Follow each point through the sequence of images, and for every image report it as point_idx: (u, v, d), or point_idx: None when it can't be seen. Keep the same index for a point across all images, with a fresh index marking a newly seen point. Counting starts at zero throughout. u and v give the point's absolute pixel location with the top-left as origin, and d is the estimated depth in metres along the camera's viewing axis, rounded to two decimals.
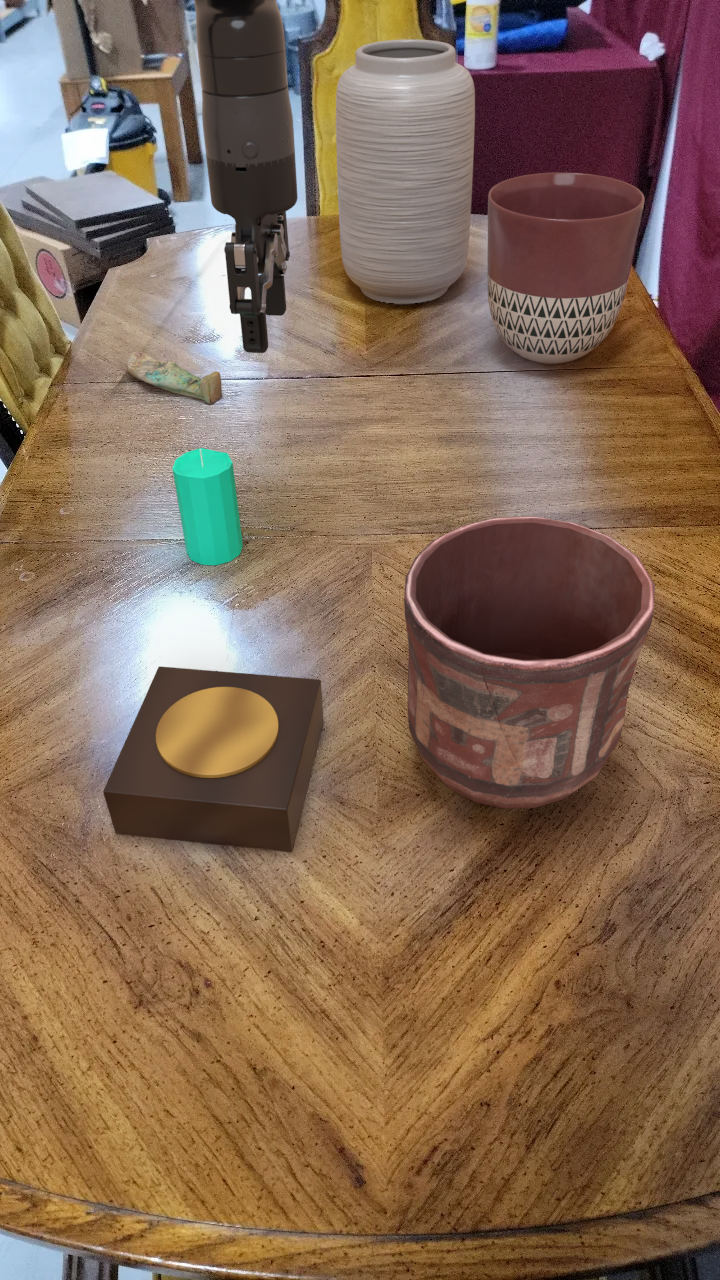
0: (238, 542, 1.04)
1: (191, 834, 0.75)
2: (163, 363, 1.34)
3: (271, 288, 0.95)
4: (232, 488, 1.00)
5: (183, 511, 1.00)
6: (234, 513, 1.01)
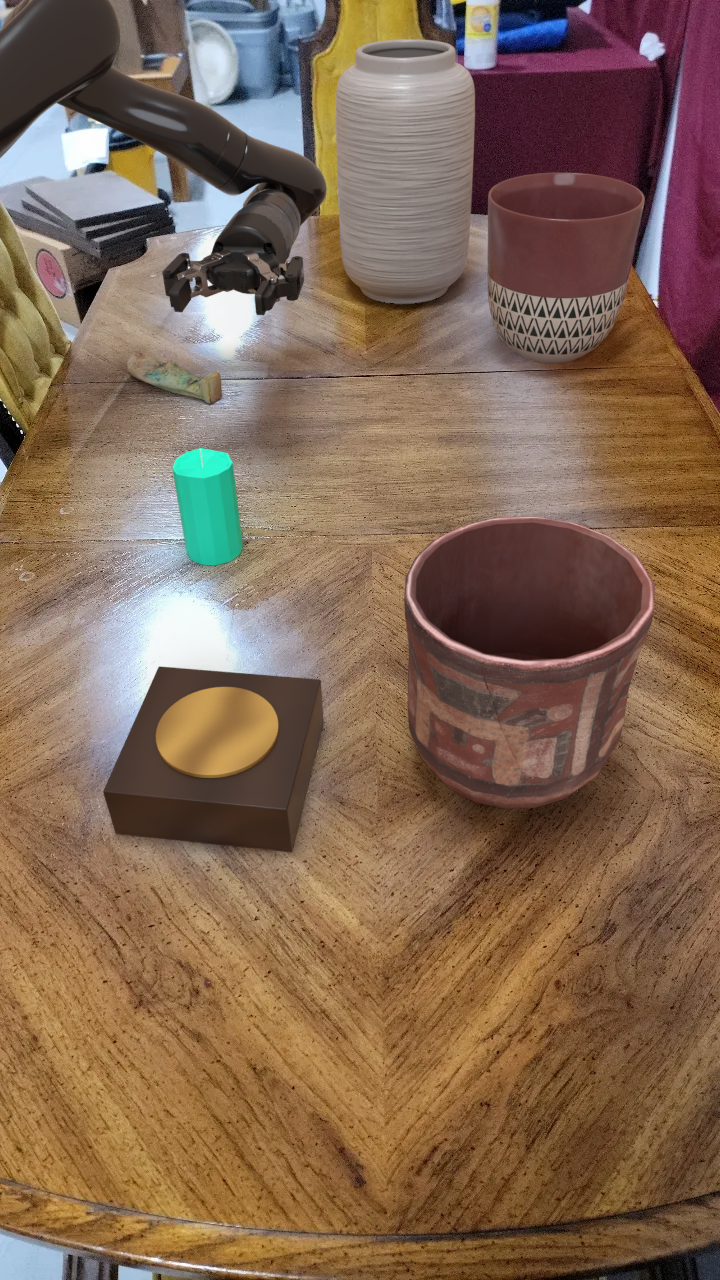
0: (238, 542, 1.04)
1: (191, 834, 0.75)
2: (163, 363, 1.34)
3: (186, 292, 1.02)
4: (232, 488, 1.00)
5: (183, 511, 1.00)
6: (234, 513, 1.01)
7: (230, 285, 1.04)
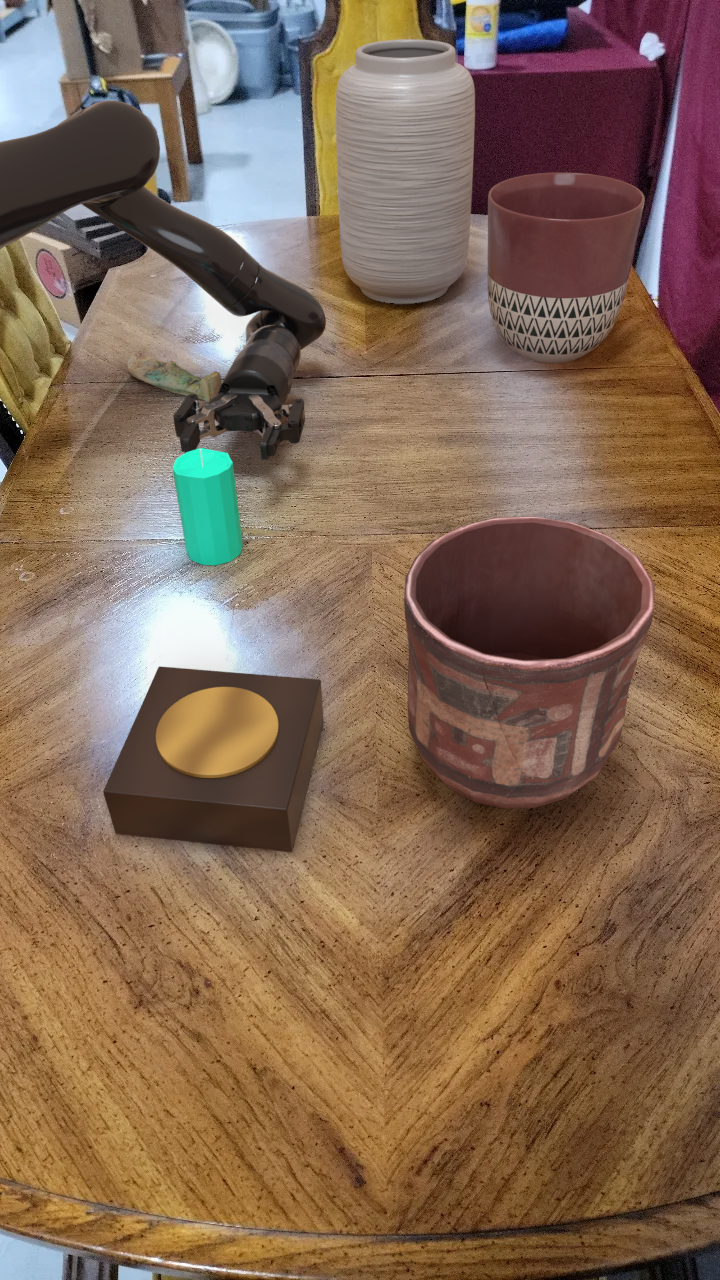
0: (238, 542, 1.04)
1: (191, 834, 0.75)
2: (163, 363, 1.34)
3: (196, 436, 1.09)
4: (232, 488, 1.00)
5: (183, 511, 1.00)
6: (234, 513, 1.01)
7: (236, 427, 1.12)
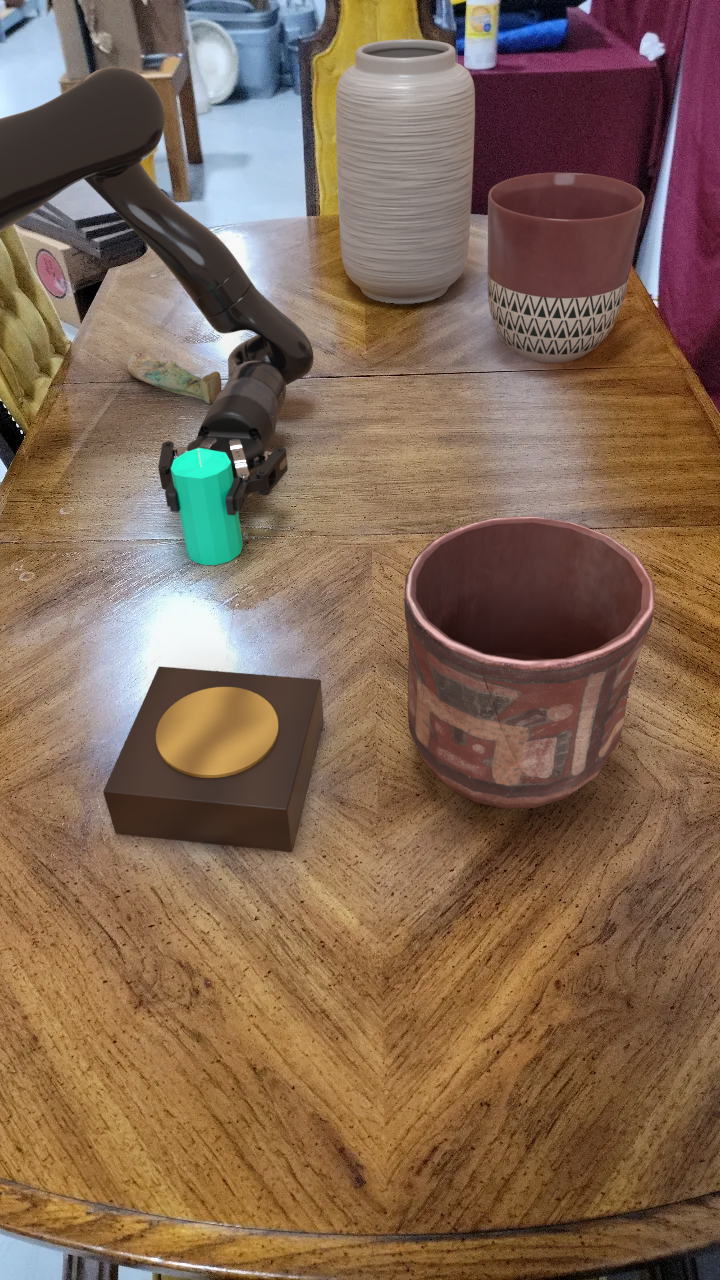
0: (238, 541, 1.04)
1: (191, 834, 0.75)
2: (163, 363, 1.34)
3: None
4: None
5: (182, 512, 1.00)
6: None
7: None
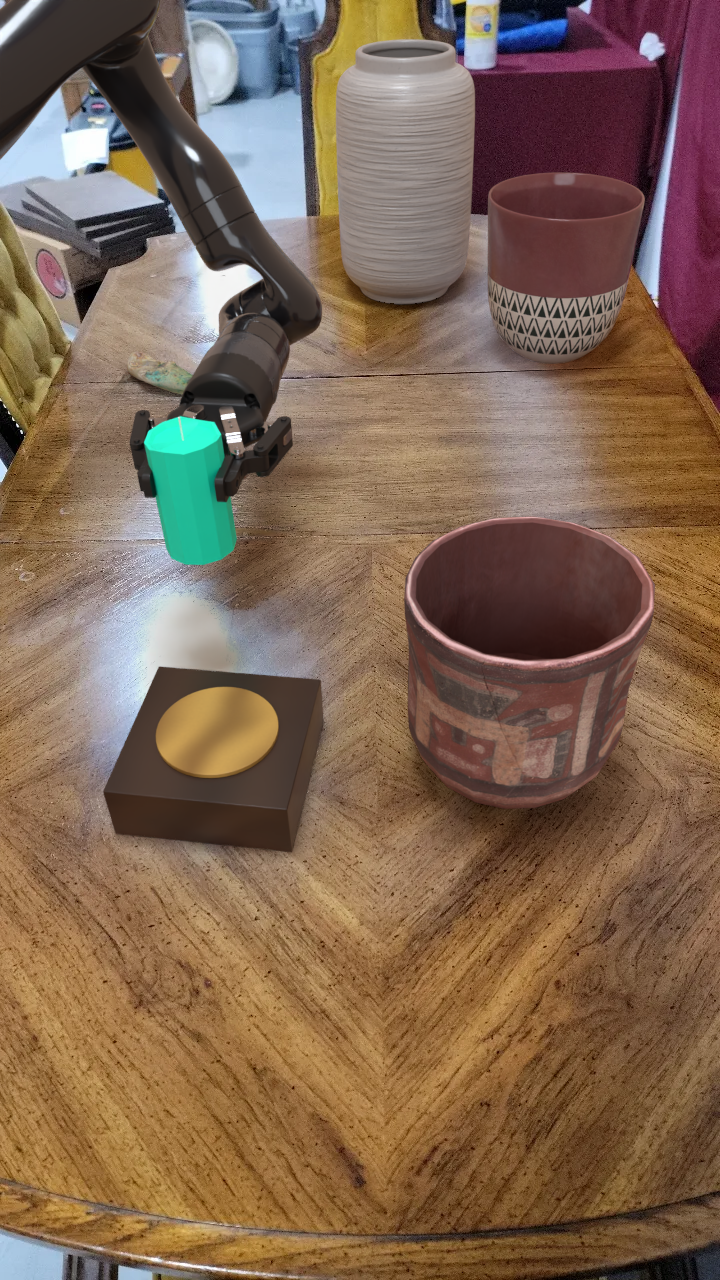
0: (230, 535, 0.82)
1: (191, 834, 0.75)
2: (163, 363, 1.34)
3: None
4: None
5: (159, 497, 0.79)
6: None
7: None
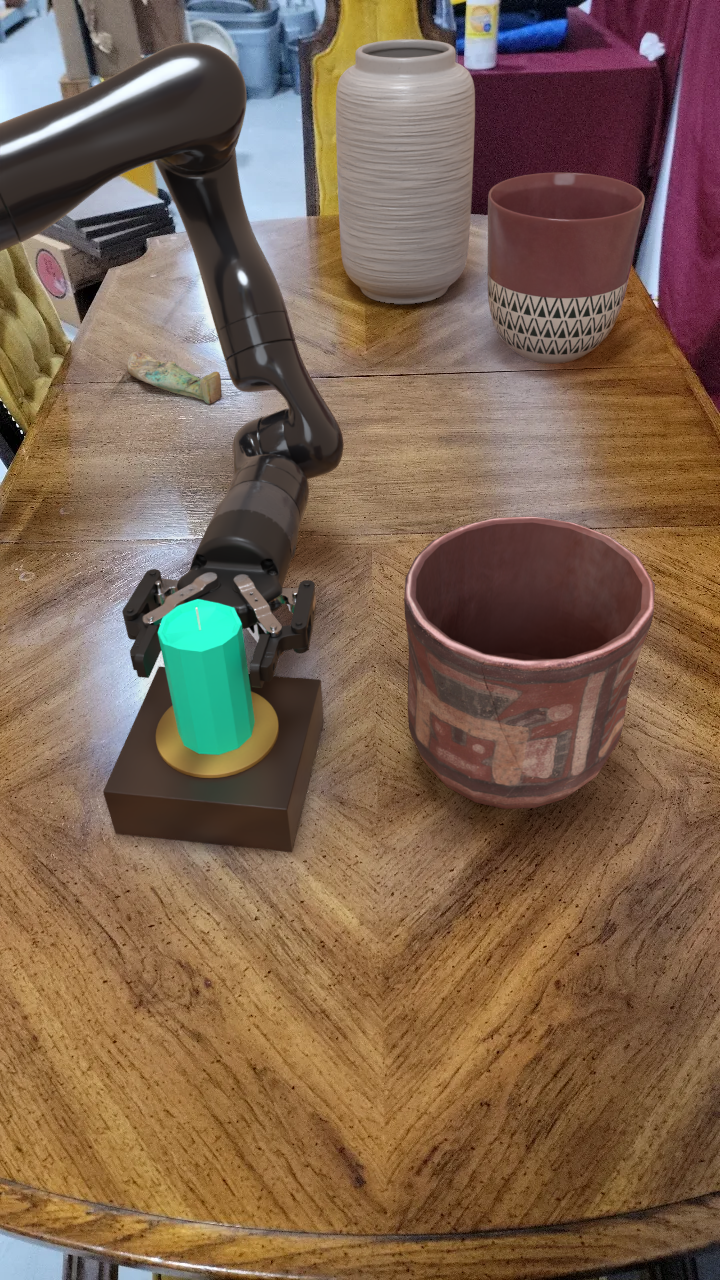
0: (249, 722, 0.76)
1: (191, 834, 0.75)
2: (163, 363, 1.34)
3: (155, 645, 0.74)
4: (241, 657, 0.72)
5: (173, 688, 0.72)
6: (243, 688, 0.73)
7: None
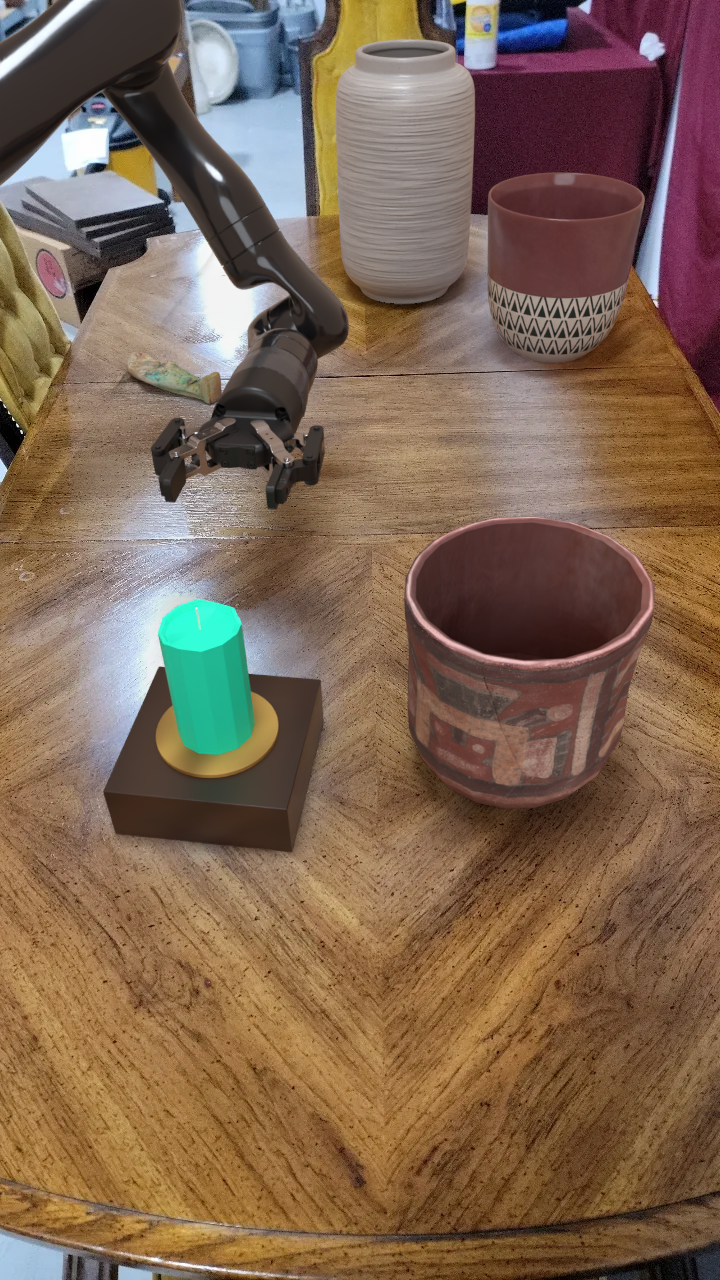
0: (249, 722, 0.76)
1: (191, 834, 0.75)
2: (163, 363, 1.34)
3: (181, 475, 0.82)
4: (241, 657, 0.72)
5: (173, 688, 0.72)
6: (243, 688, 0.73)
7: (234, 462, 0.85)
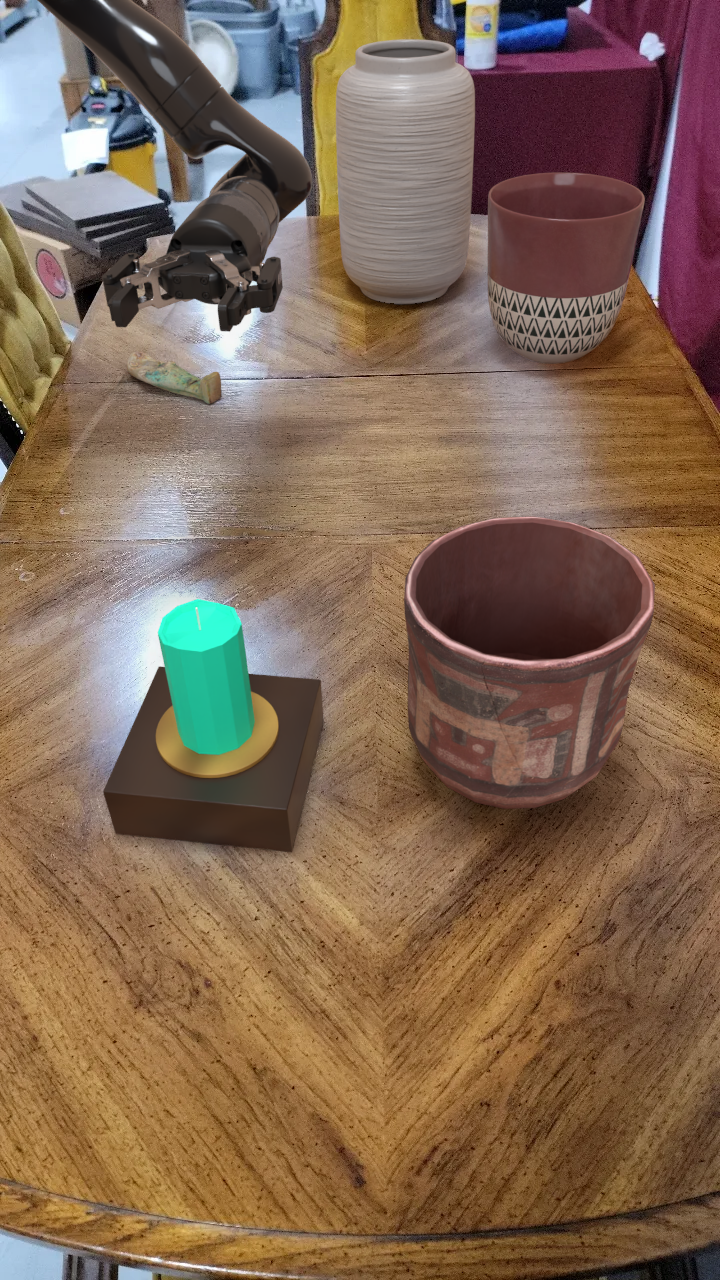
0: (249, 722, 0.76)
1: (191, 834, 0.75)
2: (163, 363, 1.34)
3: (132, 301, 0.80)
4: (241, 657, 0.72)
5: (173, 688, 0.72)
6: (243, 688, 0.73)
7: (189, 293, 0.82)
